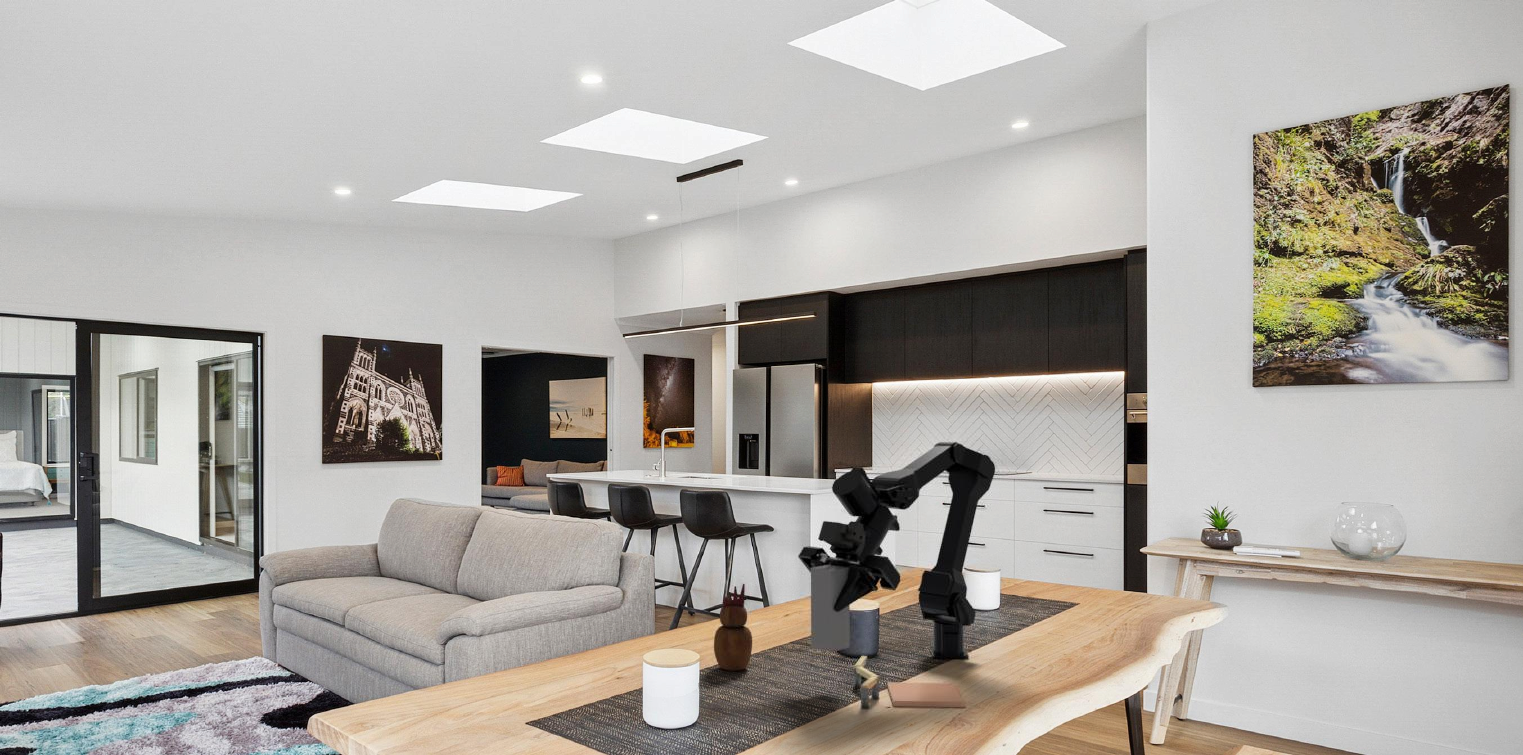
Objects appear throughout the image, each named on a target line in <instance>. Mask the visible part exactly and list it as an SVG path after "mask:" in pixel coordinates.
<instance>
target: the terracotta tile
mask: <svg viewBox="0 0 1523 755" xmlns="http://www.w3.org/2000/svg"><path fill="white" fill-rule="evenodd" d="M887 689H888V692H889V697H890V700H891V702H892V706H893V707H924V708H925V707H927V708H928V707H929V708H932V707H933V708H934V707H935V708H937V707H938V708H966V701H965V698H964V697H963V695H962V694H961V692H960V690H959V689H958V686H957V685H956V684H955V683H954V682H953V683H952V682H951V683H949V682H948V683H947V682H895V681H894V682H893V681H892V682H891V681H889V682H887Z"/></svg>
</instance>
